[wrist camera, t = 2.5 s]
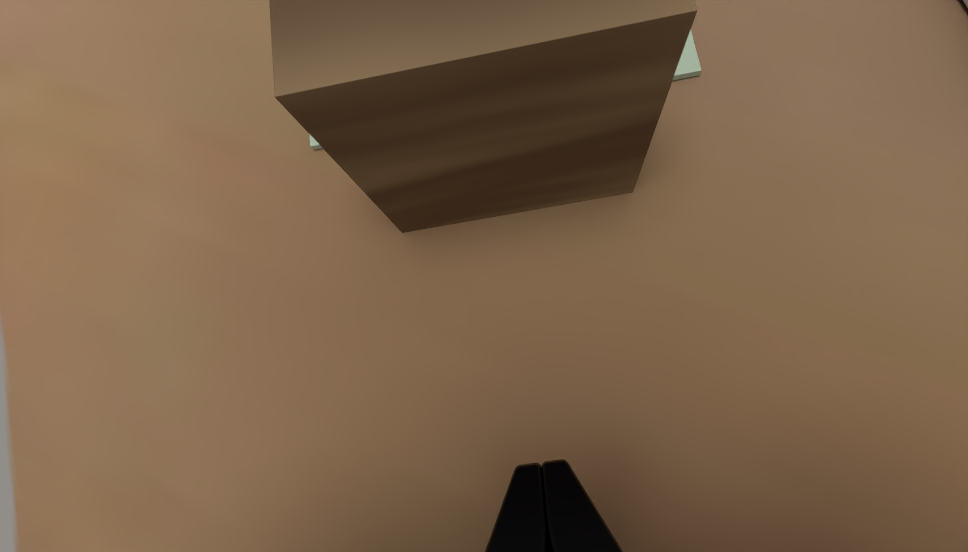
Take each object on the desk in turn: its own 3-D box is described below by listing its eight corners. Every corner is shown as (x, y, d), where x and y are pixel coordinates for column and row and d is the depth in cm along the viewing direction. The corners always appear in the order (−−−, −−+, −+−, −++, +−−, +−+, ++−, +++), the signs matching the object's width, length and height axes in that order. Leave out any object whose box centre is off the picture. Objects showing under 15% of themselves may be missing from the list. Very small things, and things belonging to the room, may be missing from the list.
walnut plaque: (632, 192, 19) (697, 10, 10) (402, 232, 19) (274, 96, 11) (618, 125, 19) (667, -102, 10) (395, 167, 20) (268, -12, 11)
